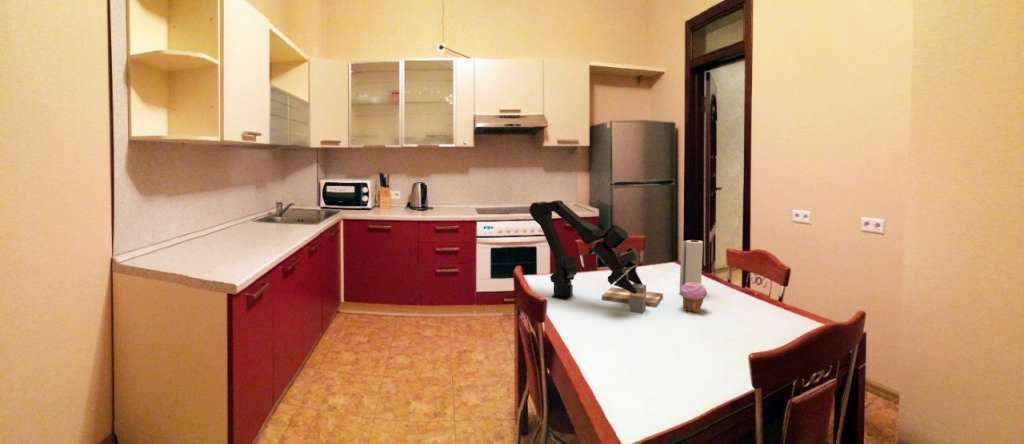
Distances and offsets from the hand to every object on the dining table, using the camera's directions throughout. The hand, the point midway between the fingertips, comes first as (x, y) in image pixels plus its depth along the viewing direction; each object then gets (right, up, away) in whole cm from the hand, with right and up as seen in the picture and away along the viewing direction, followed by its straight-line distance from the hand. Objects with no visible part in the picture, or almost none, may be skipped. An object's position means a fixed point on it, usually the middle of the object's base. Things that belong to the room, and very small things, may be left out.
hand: (639, 289), depth 159 cm
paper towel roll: (+25, -5, +19) cm, 32 cm away
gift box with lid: (0, -8, +1) cm, 8 cm away
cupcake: (+19, -8, +1) cm, 20 cm away
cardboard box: (+2, -6, +15) cm, 16 cm away
